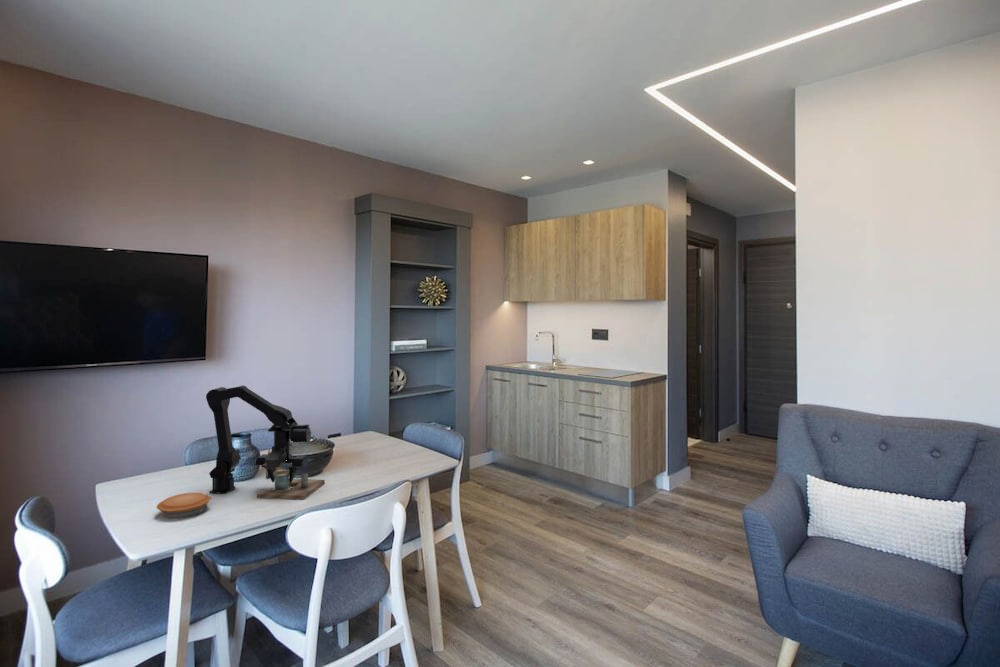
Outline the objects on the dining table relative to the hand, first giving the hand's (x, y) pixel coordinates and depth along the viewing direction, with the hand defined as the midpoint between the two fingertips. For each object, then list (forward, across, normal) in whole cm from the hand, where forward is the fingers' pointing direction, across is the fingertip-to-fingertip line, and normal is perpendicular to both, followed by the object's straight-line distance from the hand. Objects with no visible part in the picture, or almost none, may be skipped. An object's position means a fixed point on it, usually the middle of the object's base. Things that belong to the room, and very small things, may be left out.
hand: (281, 482), depth 189 cm
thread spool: (+3, 0, 0) cm, 3 cm away
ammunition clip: (+3, -10, +17) cm, 20 cm away
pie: (+3, -22, -24) cm, 32 cm away
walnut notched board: (+3, +4, 0) cm, 5 cm away
